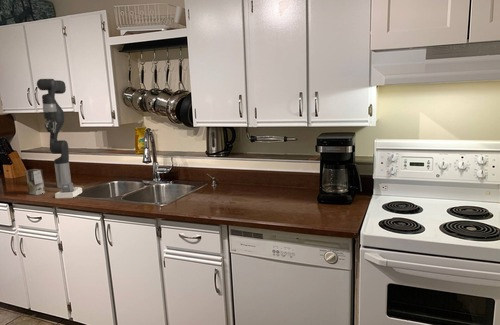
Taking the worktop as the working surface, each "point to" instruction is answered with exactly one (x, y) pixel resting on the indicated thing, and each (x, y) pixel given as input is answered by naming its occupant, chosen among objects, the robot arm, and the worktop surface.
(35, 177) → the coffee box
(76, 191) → the socket plate
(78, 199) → the worktop surface
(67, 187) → the plug
